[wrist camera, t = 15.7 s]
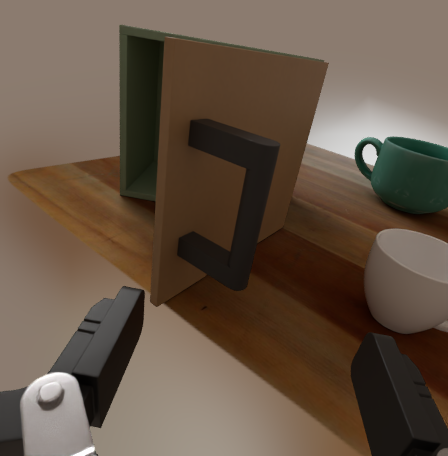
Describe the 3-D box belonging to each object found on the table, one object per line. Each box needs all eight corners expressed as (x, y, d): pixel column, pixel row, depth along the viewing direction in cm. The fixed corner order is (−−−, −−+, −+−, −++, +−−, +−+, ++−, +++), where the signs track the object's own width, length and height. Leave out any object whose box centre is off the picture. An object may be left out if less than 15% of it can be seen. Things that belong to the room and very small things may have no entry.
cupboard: (280, 224, 41) (324, 60, 32) (119, 195, 42) (119, 24, 33) (275, 186, 53) (307, 57, 44) (149, 163, 53) (155, 30, 44)
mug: (452, 211, 55) (483, 156, 51) (433, 231, 47) (468, 168, 42) (360, 176, 64) (378, 127, 60) (330, 188, 56) (348, 132, 51)
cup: (359, 276, 34) (385, 219, 30) (470, 326, 30) (514, 266, 26) (338, 317, 28) (367, 252, 25) (473, 387, 24) (529, 319, 20)
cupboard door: (327, 247, 38) (390, 73, 29) (213, 351, 23) (272, 56, 14) (278, 224, 41) (321, 61, 32) (149, 302, 26) (164, 36, 17)
